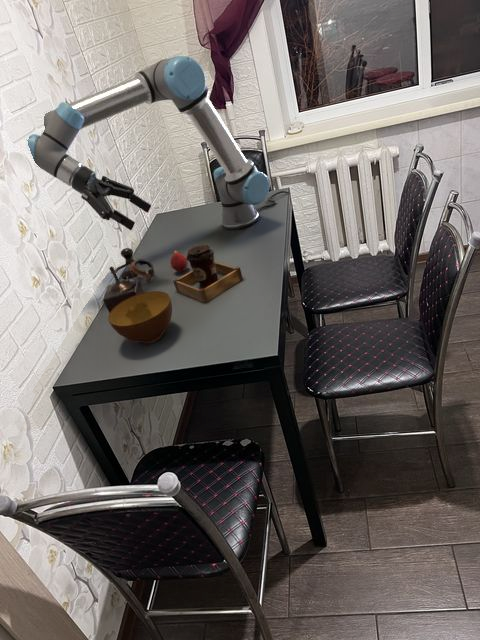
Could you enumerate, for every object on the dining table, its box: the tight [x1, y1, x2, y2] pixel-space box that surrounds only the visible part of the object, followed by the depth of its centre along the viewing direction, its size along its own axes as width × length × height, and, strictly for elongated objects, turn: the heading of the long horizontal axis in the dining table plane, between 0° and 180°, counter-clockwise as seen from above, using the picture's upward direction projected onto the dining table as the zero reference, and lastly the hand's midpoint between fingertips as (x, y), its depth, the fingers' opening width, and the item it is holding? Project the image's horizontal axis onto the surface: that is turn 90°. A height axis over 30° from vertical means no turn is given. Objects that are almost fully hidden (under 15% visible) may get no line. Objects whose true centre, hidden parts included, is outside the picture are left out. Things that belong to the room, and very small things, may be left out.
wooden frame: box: [172, 260, 244, 304], centre depth 152 cm, size 16×16×4 cm
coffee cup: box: [186, 244, 219, 289], centre depth 150 cm, size 9×8×13 cm
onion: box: [170, 250, 188, 273], centre depth 165 cm, size 6×6×8 cm
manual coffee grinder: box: [102, 247, 146, 314], centre depth 147 cm, size 16×11×18 cm
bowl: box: [107, 290, 173, 344], centre depth 132 cm, size 18×18×10 cm
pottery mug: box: [120, 259, 155, 283], centre depth 167 cm, size 12×10×8 cm
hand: (141, 217), depth 143 cm, fingers open, 13 cm apart
